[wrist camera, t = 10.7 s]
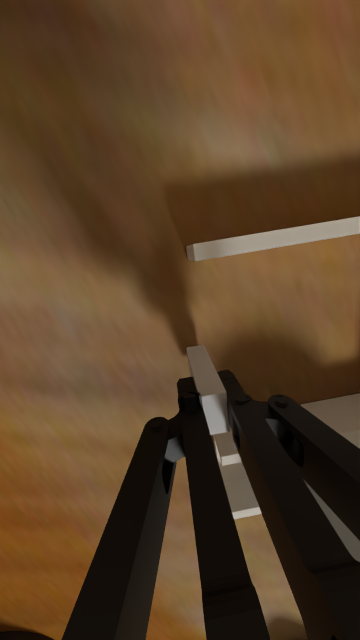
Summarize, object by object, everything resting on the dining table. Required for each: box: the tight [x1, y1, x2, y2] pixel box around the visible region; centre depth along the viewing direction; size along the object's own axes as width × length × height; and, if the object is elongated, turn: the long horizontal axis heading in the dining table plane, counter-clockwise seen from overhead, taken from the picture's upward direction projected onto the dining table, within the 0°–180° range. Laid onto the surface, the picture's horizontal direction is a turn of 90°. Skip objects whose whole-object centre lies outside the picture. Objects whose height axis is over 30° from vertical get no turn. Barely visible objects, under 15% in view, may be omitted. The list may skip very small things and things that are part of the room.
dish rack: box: [186, 216, 360, 519], centre depth 19 cm, size 17×25×4 cm
